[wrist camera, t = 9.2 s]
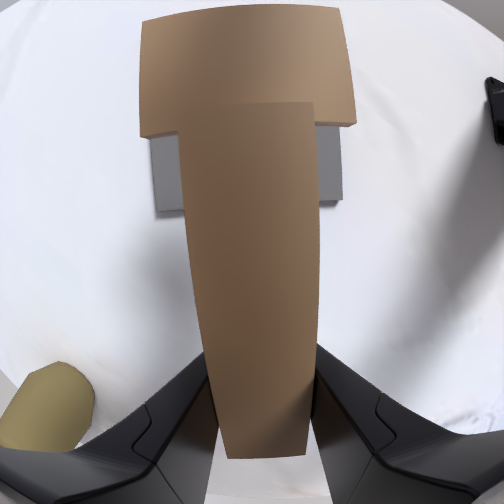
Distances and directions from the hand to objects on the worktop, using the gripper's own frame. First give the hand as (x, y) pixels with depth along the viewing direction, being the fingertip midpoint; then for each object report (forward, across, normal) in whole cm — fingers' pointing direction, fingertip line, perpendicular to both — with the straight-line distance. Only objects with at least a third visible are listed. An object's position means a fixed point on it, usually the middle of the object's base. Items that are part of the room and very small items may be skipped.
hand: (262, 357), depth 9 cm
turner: (+1, 0, -4) cm, 4 cm away
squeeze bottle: (+11, +20, +13) cm, 27 cm away
